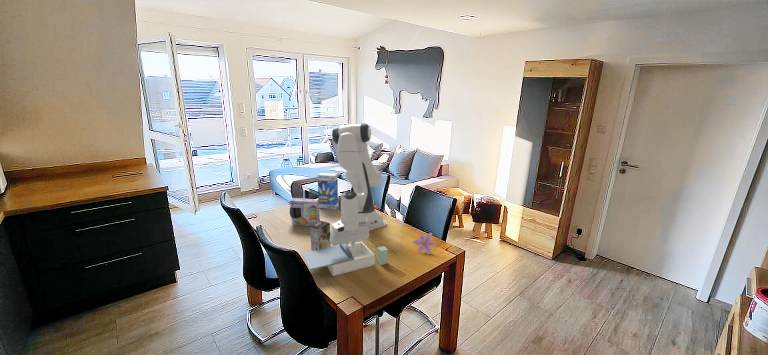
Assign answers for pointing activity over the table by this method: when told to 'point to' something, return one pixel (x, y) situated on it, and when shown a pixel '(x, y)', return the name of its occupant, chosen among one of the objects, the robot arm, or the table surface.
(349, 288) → the table surface
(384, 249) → the parcel block
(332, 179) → the string lights box
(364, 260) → the mailer box
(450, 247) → the table surface
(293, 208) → the cake pan box
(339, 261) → the lid
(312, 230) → the coffee box
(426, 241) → the lily
